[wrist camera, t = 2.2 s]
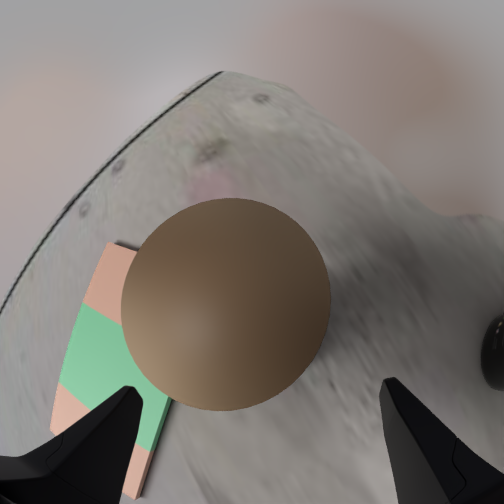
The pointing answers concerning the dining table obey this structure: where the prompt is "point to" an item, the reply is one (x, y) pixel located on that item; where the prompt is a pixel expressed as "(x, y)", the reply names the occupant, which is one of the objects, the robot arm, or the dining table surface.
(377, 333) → the dining table surface
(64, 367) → the board
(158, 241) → the walnut peg
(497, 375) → the supplement bottle
